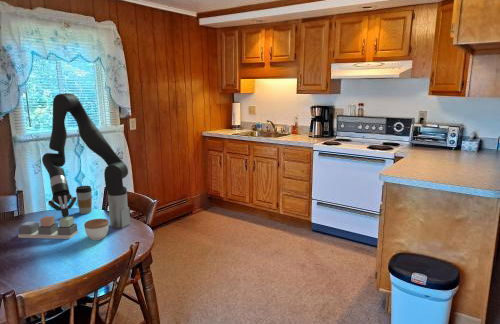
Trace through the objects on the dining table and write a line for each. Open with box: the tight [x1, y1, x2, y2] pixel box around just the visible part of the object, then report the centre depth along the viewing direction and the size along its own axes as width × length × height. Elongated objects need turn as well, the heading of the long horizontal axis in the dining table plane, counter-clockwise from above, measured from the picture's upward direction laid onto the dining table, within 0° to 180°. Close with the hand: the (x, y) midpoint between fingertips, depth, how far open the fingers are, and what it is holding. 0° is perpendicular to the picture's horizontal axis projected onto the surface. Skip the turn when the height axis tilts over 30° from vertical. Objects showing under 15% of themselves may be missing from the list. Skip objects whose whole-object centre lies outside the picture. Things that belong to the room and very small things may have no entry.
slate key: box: [20, 221, 37, 227], centre depth 172 cm, size 4×4×4 cm
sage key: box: [59, 216, 75, 227], centre depth 171 cm, size 4×4×4 cm
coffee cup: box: [75, 185, 93, 215], centre depth 204 cm, size 8×8×15 cm
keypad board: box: [17, 222, 79, 240], centre depth 172 cm, size 25×8×5 cm, turn 88°
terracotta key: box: [39, 215, 56, 227], centre depth 171 cm, size 4×4×4 cm
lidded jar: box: [84, 218, 110, 241], centre depth 169 cm, size 11×11×9 cm
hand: (65, 216), depth 170 cm, fingers closed
